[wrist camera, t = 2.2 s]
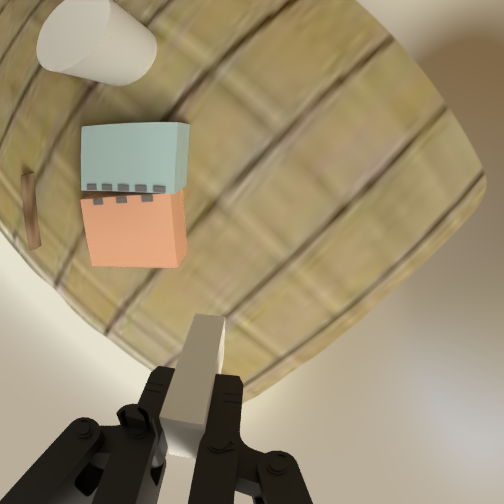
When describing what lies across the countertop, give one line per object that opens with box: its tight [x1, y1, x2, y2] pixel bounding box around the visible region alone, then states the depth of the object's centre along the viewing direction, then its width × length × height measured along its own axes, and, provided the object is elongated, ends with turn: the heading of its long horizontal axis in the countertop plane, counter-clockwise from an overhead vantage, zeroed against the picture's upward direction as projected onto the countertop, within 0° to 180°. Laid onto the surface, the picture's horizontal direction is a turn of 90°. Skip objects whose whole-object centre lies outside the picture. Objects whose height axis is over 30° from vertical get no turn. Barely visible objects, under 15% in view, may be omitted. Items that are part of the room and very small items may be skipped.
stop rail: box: [21, 173, 41, 250], centre depth 32 cm, size 11×1×2 cm, turn 175°
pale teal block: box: [81, 122, 190, 194], centre depth 28 cm, size 7×11×5 cm, turn 85°
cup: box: [37, 0, 157, 86], centre depth 20 cm, size 8×8×12 cm
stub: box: [81, 188, 188, 268], centre depth 31 cm, size 8×11×5 cm
